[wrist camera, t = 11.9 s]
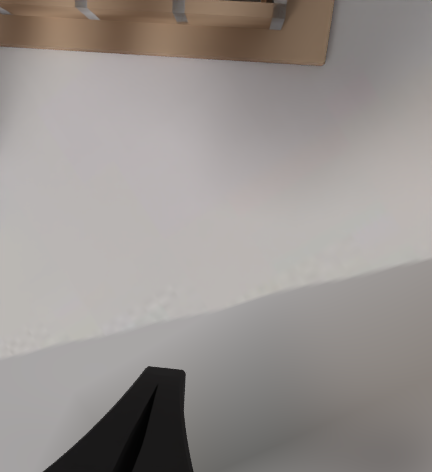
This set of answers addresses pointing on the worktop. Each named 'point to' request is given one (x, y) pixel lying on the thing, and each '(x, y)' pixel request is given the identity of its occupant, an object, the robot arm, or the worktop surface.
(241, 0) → the blanking panel
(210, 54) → the slot rack
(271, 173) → the worktop surface
